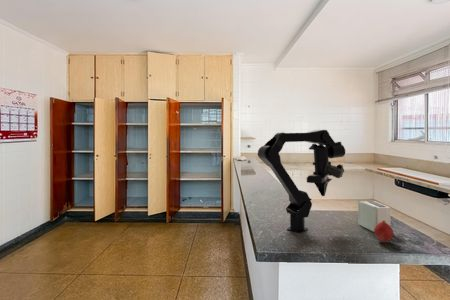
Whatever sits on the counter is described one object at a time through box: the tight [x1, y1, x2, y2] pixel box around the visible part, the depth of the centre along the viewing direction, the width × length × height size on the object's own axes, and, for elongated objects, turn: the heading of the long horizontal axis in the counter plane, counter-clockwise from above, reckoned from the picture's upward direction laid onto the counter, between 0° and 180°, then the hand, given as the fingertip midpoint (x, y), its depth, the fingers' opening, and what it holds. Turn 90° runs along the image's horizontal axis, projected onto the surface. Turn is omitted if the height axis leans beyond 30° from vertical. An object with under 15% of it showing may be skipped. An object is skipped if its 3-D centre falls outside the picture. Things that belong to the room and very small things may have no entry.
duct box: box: [362, 200, 391, 227], centre depth 110 cm, size 5×11×10 cm, turn 0°
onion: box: [373, 220, 394, 243], centre depth 95 cm, size 6×6×8 cm
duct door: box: [357, 200, 376, 233], centre depth 109 cm, size 1×10×10 cm, turn 6°
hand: (323, 195), depth 113 cm, fingers closed
